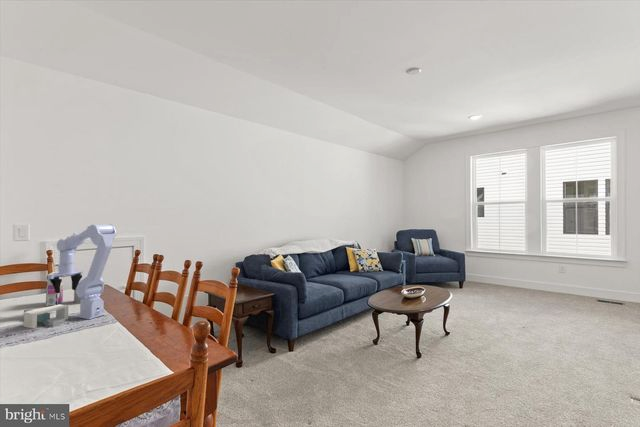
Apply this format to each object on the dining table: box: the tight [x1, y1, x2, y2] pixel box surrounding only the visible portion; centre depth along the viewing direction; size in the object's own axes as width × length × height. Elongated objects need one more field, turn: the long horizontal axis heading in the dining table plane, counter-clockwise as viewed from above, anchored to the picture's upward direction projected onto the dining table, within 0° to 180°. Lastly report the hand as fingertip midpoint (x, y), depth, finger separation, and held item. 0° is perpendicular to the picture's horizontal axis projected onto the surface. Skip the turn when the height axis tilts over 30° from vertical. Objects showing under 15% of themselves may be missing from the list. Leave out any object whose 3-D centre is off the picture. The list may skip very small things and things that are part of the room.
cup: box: [73, 282, 81, 305], centre depth 183 cm, size 8×8×10 cm
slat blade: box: [23, 308, 51, 324], centre depth 150 cm, size 15×2×4 cm, turn 69°
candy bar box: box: [45, 271, 64, 307], centre depth 177 cm, size 11×5×16 cm, turn 25°
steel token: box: [44, 316, 66, 327], centre depth 145 cm, size 5×5×2 cm
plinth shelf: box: [23, 303, 69, 329], centre depth 147 cm, size 6×14×6 cm, turn 159°
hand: (66, 291), depth 164 cm, fingers open, 7 cm apart
